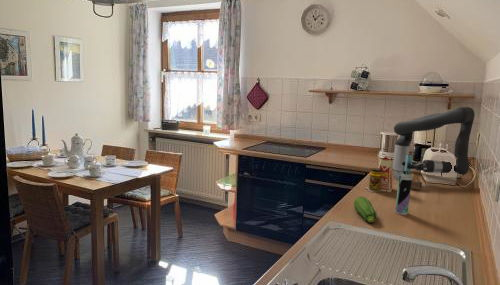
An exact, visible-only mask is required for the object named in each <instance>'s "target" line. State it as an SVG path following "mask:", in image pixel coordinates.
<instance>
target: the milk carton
mask: <svg viewBox="0 0 500 285" xmlns="http://www.w3.org/2000/svg"><path fill="white" fill-rule="evenodd" d="M377 168H378V169H381V175H382V176H381V187H380V190H382V191H381V192H386V191H387V193H391V192H392V189H393V169H392V168H393V162H392V160H391V159H389V158H388V155H387V154H385V156H384V157H383V158H381V159H380V162H379V164H378V167H377Z"/></svg>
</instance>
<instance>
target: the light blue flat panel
mask: <svg viewBox="0 0 500 285" xmlns="http://www.w3.org/2000/svg"><path fill="white" fill-rule="evenodd" d="M412 161H413V155H411V154H409V155H406V162H405V171H408V173H409V175H411V170H412V169H408V168H407V165H411V164H412V163H411V162H412ZM399 173H400V174H403V172H399Z"/></svg>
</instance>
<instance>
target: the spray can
mask: <svg viewBox="0 0 500 285" xmlns="http://www.w3.org/2000/svg"><path fill="white" fill-rule="evenodd" d="M410 175H411V174H410ZM410 175H409V173H408V171H404V173H403V174H401V175H399V181H398V183H397V193H396V200H395V209H394V213H395V214H397V215H402V216H407V215H408V213H409V206H410V198H411V191H412V190H411V182H412V181H413V177H412V176H413V175H412V176H410Z"/></svg>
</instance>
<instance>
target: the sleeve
mask: <svg viewBox="0 0 500 285" xmlns="http://www.w3.org/2000/svg"><path fill="white" fill-rule="evenodd" d="M399 172H403V173H404V171H397V170H394V173H393V179H395V180H396V181H398V182H399V175H401V174H400V173H399ZM410 176H413V175H412V174H410Z"/></svg>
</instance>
